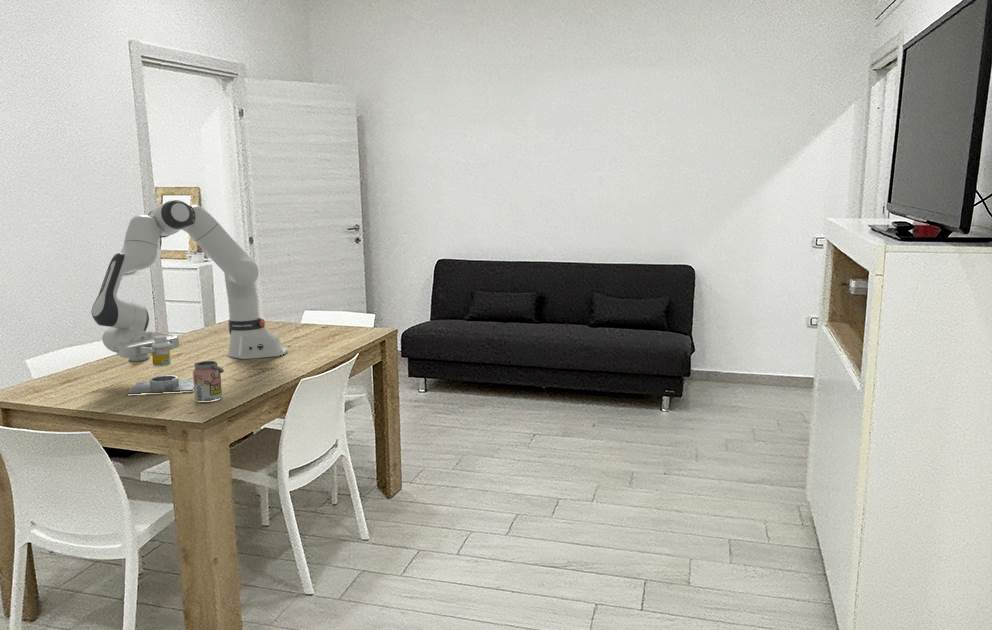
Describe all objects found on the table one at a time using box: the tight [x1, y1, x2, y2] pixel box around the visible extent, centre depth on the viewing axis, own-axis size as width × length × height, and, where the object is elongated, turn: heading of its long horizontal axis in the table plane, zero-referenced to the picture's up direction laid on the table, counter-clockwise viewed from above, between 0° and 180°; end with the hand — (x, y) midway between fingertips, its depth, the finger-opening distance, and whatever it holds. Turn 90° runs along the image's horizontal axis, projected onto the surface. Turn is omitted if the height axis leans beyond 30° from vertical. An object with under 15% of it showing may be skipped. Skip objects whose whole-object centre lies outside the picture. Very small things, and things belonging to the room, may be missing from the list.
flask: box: [128, 354, 151, 362], centre depth 305 cm, size 7×7×10 cm
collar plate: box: [126, 374, 194, 395], centre depth 264 cm, size 20×14×4 cm
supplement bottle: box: [151, 335, 172, 368], centre depth 262 cm, size 5×5×10 cm
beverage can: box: [192, 360, 224, 402], centre depth 250 cm, size 9×8×12 cm
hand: (162, 348), depth 261 cm, fingers closed on supplement bottle, 5 cm apart
